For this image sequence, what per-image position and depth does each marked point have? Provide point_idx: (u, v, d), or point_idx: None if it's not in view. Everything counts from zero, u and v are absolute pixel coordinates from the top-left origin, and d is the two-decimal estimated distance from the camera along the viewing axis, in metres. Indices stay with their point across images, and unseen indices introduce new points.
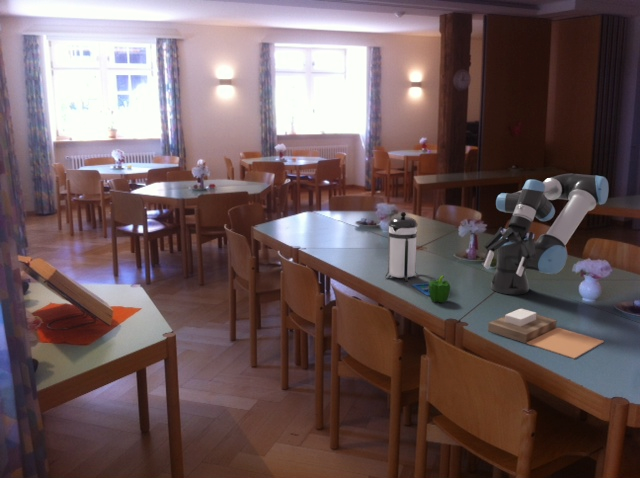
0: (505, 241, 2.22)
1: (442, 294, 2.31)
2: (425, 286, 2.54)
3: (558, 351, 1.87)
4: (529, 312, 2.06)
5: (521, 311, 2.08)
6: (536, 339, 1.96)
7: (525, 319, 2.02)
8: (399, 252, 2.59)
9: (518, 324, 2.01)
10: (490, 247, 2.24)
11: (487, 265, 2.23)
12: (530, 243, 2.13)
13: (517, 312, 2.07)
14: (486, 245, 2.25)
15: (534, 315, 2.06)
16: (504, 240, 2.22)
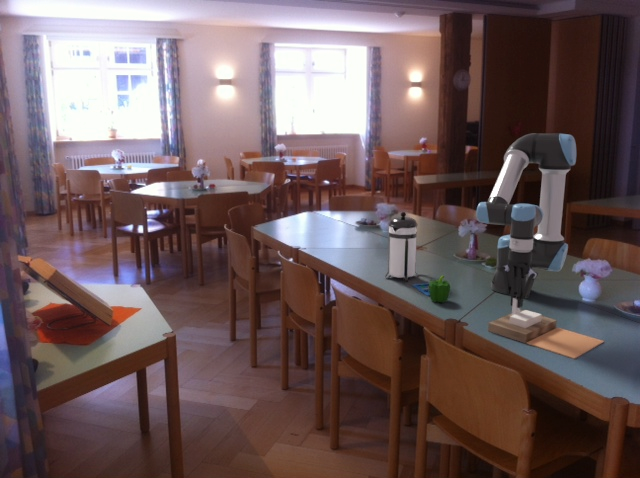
0: (517, 278, 2.04)
1: (442, 294, 2.31)
2: (425, 286, 2.54)
3: (558, 351, 1.87)
4: (534, 314, 2.05)
5: (526, 313, 2.06)
6: (536, 339, 1.96)
7: (530, 320, 2.01)
8: (399, 252, 2.59)
9: (523, 326, 1.99)
10: (511, 294, 2.05)
11: (515, 313, 2.06)
12: (527, 284, 2.00)
13: (522, 313, 2.05)
14: (507, 291, 2.06)
15: (539, 317, 2.04)
16: (515, 278, 2.04)
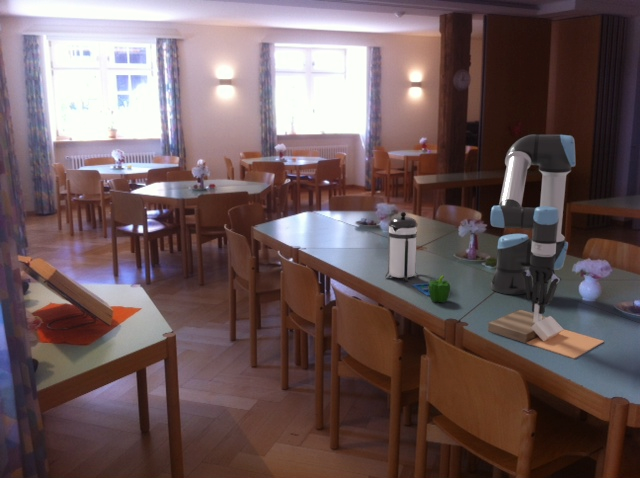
0: (539, 283, 1.98)
1: (442, 294, 2.31)
2: (425, 286, 2.54)
3: (558, 351, 1.87)
4: (557, 326, 1.99)
5: (550, 321, 1.99)
6: (536, 339, 1.96)
7: (552, 335, 1.95)
8: (399, 252, 2.59)
9: (543, 338, 1.94)
10: (533, 299, 1.99)
11: None
12: (550, 290, 1.94)
13: (547, 321, 1.99)
14: (528, 297, 2.00)
15: (560, 331, 1.99)
16: (537, 283, 1.98)
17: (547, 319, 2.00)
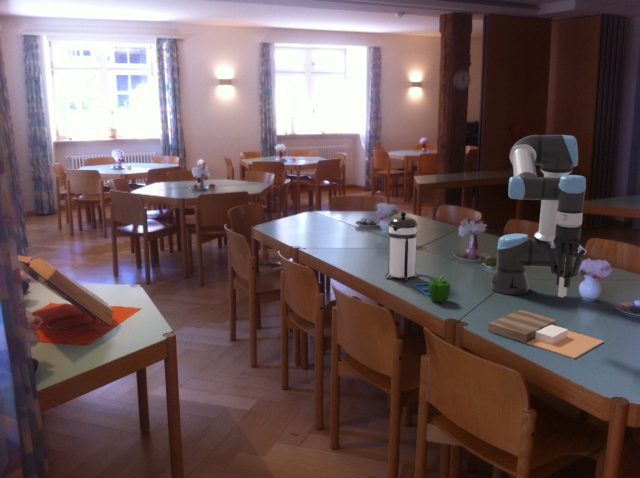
0: (564, 255, 1.90)
1: (442, 294, 2.31)
2: (425, 286, 2.54)
3: (558, 351, 1.87)
4: (560, 329, 1.98)
5: (552, 328, 1.99)
6: (536, 339, 1.96)
7: (557, 336, 1.94)
8: (399, 252, 2.59)
9: (550, 342, 1.93)
10: (558, 272, 1.91)
11: None
12: (576, 262, 1.86)
13: (548, 328, 1.99)
14: (553, 270, 1.93)
15: (566, 332, 1.97)
16: (562, 255, 1.90)
17: (548, 327, 2.00)
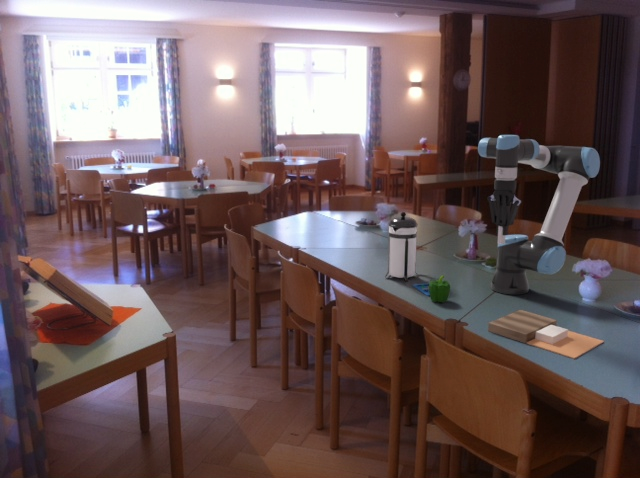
0: (502, 206, 2.15)
1: (442, 294, 2.31)
2: (425, 286, 2.54)
3: (558, 351, 1.87)
4: (560, 329, 1.98)
5: (552, 328, 1.99)
6: (536, 339, 1.96)
7: (557, 336, 1.94)
8: (399, 252, 2.59)
9: (550, 342, 1.93)
10: (497, 222, 2.16)
11: None
12: (512, 211, 2.11)
13: (548, 328, 1.99)
14: (493, 220, 2.17)
15: (566, 332, 1.97)
16: (501, 207, 2.14)
17: (548, 327, 2.00)
